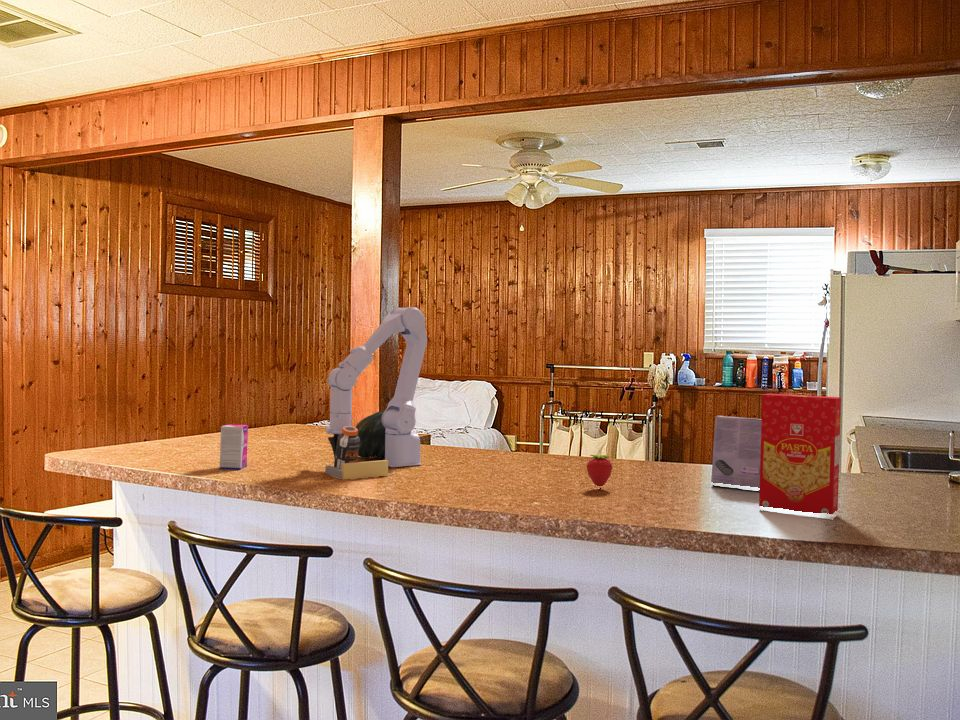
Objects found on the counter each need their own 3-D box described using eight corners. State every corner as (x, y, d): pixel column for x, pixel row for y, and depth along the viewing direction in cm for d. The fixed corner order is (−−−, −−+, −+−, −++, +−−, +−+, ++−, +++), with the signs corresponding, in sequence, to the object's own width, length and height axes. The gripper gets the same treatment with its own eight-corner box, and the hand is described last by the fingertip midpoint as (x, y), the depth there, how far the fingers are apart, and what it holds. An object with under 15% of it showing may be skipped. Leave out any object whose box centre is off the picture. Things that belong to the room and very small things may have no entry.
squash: (344, 436, 244) (355, 402, 235) (391, 436, 250) (404, 403, 241) (352, 473, 234) (364, 439, 225) (401, 472, 241) (415, 439, 232)
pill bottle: (344, 474, 210) (349, 434, 207) (328, 466, 214) (333, 426, 211) (360, 469, 215) (366, 430, 212) (345, 461, 218) (350, 422, 216)
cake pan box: (795, 493, 195) (797, 419, 195) (792, 496, 191) (794, 421, 190) (715, 484, 205) (717, 414, 204) (710, 487, 200) (712, 416, 200)
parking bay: (368, 469, 217) (368, 454, 217) (387, 476, 208) (388, 460, 208) (325, 473, 210) (325, 458, 210) (343, 480, 201) (343, 464, 201)
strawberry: (581, 490, 193) (582, 448, 193) (593, 485, 200) (594, 445, 199) (605, 493, 190) (606, 450, 190) (616, 488, 197) (617, 447, 196)
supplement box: (241, 470, 213) (241, 426, 213) (218, 469, 213) (219, 426, 213) (248, 466, 219) (248, 424, 219) (226, 466, 219) (226, 423, 219)
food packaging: (758, 510, 174) (762, 394, 173) (765, 506, 178) (768, 393, 177) (832, 520, 165) (836, 398, 165) (837, 516, 170) (841, 397, 169)
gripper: (316, 410, 220) (315, 460, 221) (338, 415, 208) (336, 468, 209) (340, 410, 224) (338, 458, 225) (363, 414, 212) (361, 466, 213)
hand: (339, 463), depth 217 cm, fingers closed, pressing on pill bottle
